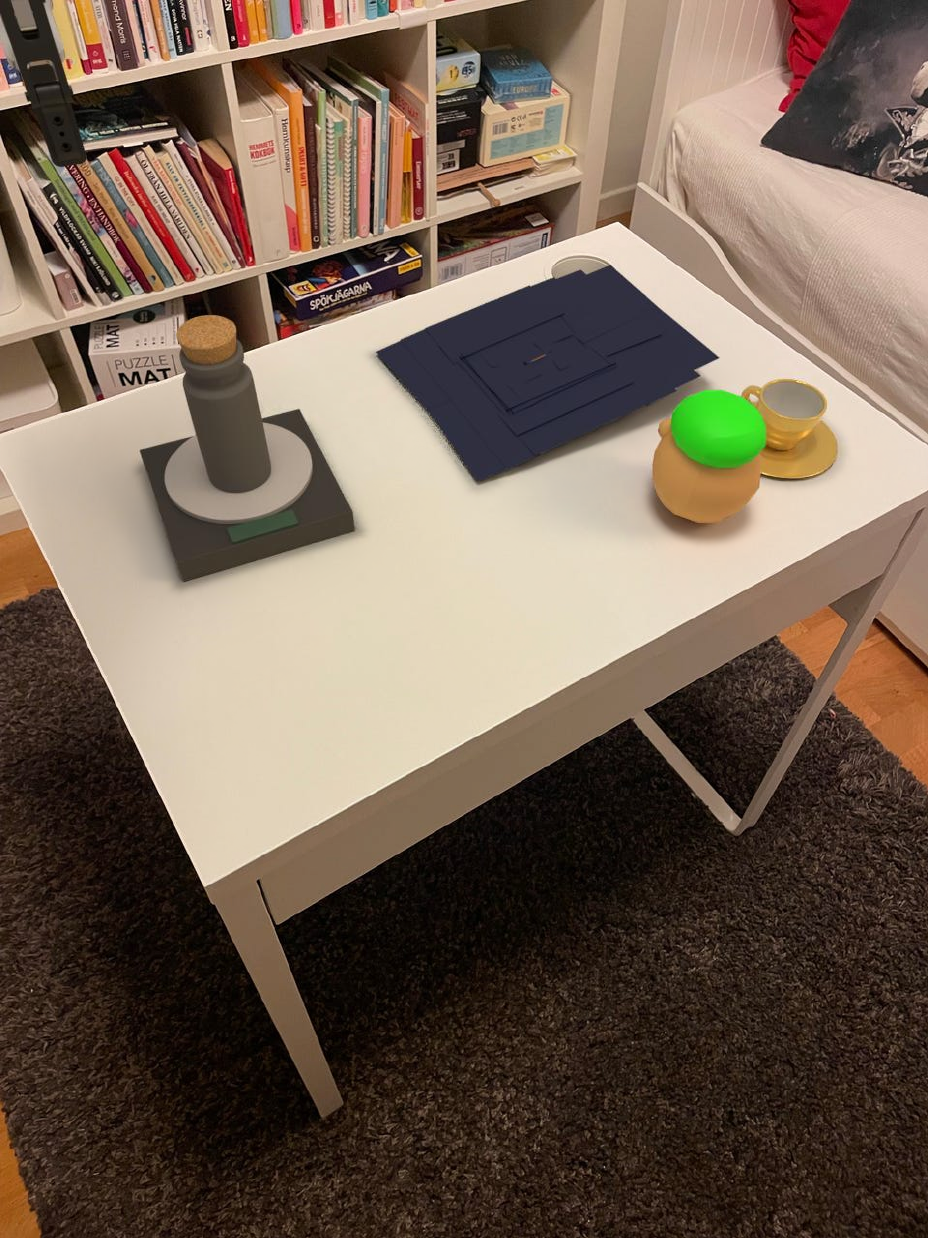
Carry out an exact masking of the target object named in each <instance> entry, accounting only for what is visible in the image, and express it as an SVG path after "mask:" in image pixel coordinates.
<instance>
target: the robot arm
mask: <svg viewBox="0 0 928 1238" xmlns="http://www.w3.org/2000/svg"><path fill="white" fill-rule="evenodd" d="M53 10H54V1H53V0H0V43H1V46H2V49H3V52H4V55H5V58H6V61H7V63H8V64H9V66H10V67H11V68H13V69H15V70H17V71H18V72H19V73H20V75H21V79H22V81H23V84H24V87H25V90H26V91H24V96H25V98H26V101H27V103H28V102H30V105H31V108H32V109H34V111H35V114H36V118H37V120H38V124H39V127H40V130H41V132H42V135H43V138H44V142H45V145H46V147H47V150H48V153H49V156H50V159H51V162H52V163H53V165H54V166H56V167H58V168H64V167H65V168H66V167H72V166H76V165H82V164H84V163H86V161H87V159H88V154H87V152H86V148H85V145H84V142H83V138H82V134H81V131H80V129H79V125H78V121H77V119H76V116H75V112H74V109H73V106H72V103H74V98H73V96H74V95H75V94H74V91H73V86H72V85H69V82H68V78H67V75H66V72H65V69H64V65H63V62H64V61H65V60H66V52H65V46H64V44H63V41H62V38H61V35H60V32H59V31H60V30H59V28H58V25H57V22H56V19H55V16H54V13H53Z"/></svg>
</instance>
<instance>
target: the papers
mask: <svg viewBox="0 0 928 1238" xmlns="http://www.w3.org/2000/svg"><path fill="white" fill-rule="evenodd" d="M375 353H376V354H377V355H378V357H379V358H380V359H381V360H382V361H383V363H385V365H387V367H388V368H389V369H390V370H391V371H392V373H393V374H394V375H395V376H396V377H397V378H398V380H400V382H401V383H402V384H403V385H404V386H405V387H406V388H407V389H408V391H409V392H410V393H411V394H412V395H413V396H414V397H415V398H416V400H417V401H418V402H419V403H420V404H421V405H422V407H424V408H425V410H426V411H427V412H428V414H429V416H431V418H432V419H433V421H434V422H435V424H436V425H437V426H438V428H439V429H440V431H441V432H442V433H443V436H445V438H446V439H447V441H448V442H449V443H450V445H451V447H452V448H453V449H454V451H455V452H456V453H457V455H458V456H459V458H460V459H461V461H462V462H463V464H464V465H465V466H466V467H467V469H468V470H469V472H470V474H471V475H472V476H473V478H474V479H475V480H476V482H480V481H483V480H485V479H487V478H490V477H492V476H495V475H497V474H500V473H502V472H504V471H509V470H511V469H512V468H515V467H517V466H519V465H521V464H524V463H526V462H528V461H530V460H531V459H534V458H537V457H538V456H540V455H541V454H543V453H545V452H548V451H549V450H551V449H554V448H556V447H559V446H560V445H562V444H565V443H566V442H569V441H572V440H574V439H576V438H578V437H580V436H582V435H584V434H587V433H588V432H591V431H593V430H595V429H597V428H599V427H603V425H606V424H609V423H610V422H612V421H615V420H617V419H619V418H621V417H623V416H626V415H628V414H631V413H632V412H634V411H636V410H638V409H641V408H643V407H647V406H649V405H651V404H654V403H655V402H657V401H659V400H662V399H663V398H665V397H667V396H669V395H672V394H673V393H676V392H677V391H678V390H677V388H679V387H681V386H683V385H686V384H688V383H690V382H692V381H694V380H696V379H697V378H701V377H702V375H701V374H700V373H698V372H697V371H696V370H698V369H700V368H702V367H704V366H706V365H708V364H710V363H712V362H714V361H717V360H718V359H720V356H718V355H717V354H716V353H715V352H714V351H712V350H711V349H710V348H708V347H707V346H706V345H705V344H704V343H702V341H700V340H699V339H698V338H697V337H695V336H694V335H693V334H692V333H690V331H688V330H687V329H686V328H685V327H683V326H682V325H681V324H680V323H679V322H677V321H676V320H675V319H674V318H672V317H671V316H670V315H669V314H668V313H666V312H665V311H664V310H663V309H661V307H659V306H658V305H657V304H656V303H655V302H653V301H652V300H651V299H650V298H649V297H648V296H647V295H646V294H644V293H643V292H642V291H641V290H640V289H639V288H638V287H637V286H635V285H634V284H633V283H632V282H631V281H630V280H629V279H628V278H627V277H625V275H623V274H622V273H621V272H620V271H619V270H617V268H615V267H614V266H613V265H612V264H608V265H606V266H603V267H601V268H598V269H596V270H594V271H591V272H589V273H586V272H584V271H583V270H582V269H578V270H575V271H572V272H570V273H568V274H564V275H561V276H560V277H557V278H556V277H555V276H553V277H550V278H548V279H545V280H543V281H540V282H537V283H535V284H532V285H530V284H529V285H527V286H524V287H521V288H519V289H517V290H514V291H512V292H510V293H507V294H505V295H503V296H500V297H498V298H495V299H492V300H490V301H487V302H485V303H482V304H479V305H477V306H475V307H473V308H471V309H468V310H465V311H463V312H461V313H458V314H456V315H453V316H451V317H449V318H446V319H444V320H441V321H438V322H436V323H434V324H431V325H429V326H427V327H424V329H421V330H419V331H417V332H415V333H412V334H410V335H407V336H405V337H403V338H401V339H400V340H399V341H397V342H395V343H392V344H389V345H387V346H385V347H384V348H380V349H379V350H377V351H375Z"/></svg>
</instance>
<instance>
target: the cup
mask: <svg viewBox="0 0 928 1238" xmlns="http://www.w3.org/2000/svg"><path fill="white" fill-rule="evenodd" d="M751 395H753V396H755V397H756V398H757V401H751ZM740 396H741V397H744V398H745V399H746V400H747V401H748V402H750V403H751V404H752V405H753V406H754V407H755V408H756V409H757V410H758V411H759V412H760V414H761V416H762V418H763V420H764V422H765V424H766V446H765V447H764V448H763V449H762V450H761V451H760V455H761V457H762V463H761V474H763V475H765V476H769V477H774V478H783V479H801V478H808V477H812V476H814V475H818V474H820V473H823V472H824V471H826V470H827V469H829V467H831V466H832V465H833V463H834V462H835V461H836V459H837V456H838V453H839V445H838V441H837V438H836V436H835V434H834V432H833V431H832V430H831V428H830V427H829V426H828V425H827V424H826V423H825V422H824V420H822V417H823V416H824V415H825V413H826V412H827V409H828V402H827V399H826V396H825V395H824V394H823V393H822V392H821V391H820V389H818V388H817V387H816V386H813V385H812V384H810V383H807V382H805V381H802V380H798V379H794V378H793V379H792V378H779V379H773V380H771V381H768V382H766V383H765V384H764V385H763V386H762V387H760V386H757V385H754V384H753V385H749V386H748V385H747V387H746V388H744V389H743V391H742V393H741V395H740Z"/></svg>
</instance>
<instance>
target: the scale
mask: <svg viewBox="0 0 928 1238" xmlns="http://www.w3.org/2000/svg"><path fill="white" fill-rule="evenodd" d="M262 422H263V427H264V432H265V437H266V442H267V447H268V452H269V457H270V462H271V473H270V476H269V478H268V479H267V480H266V482H264V483H263V484H262V485H261V486H259V487H258V488H255V489H253V490H251V491H247V492H242V493H229V492H225V491H222V490H220V489H217V488H216V487H215V486H214V485H213V484H212V483H211V482H210V480H209V477H208V474H207V471H206V468H205V464H204V461H203V457H202V453H201V450H200V446H199V443H198V439H197V436H196V434H195V435H191V436H188V437H187V436H186V437H183V438H179V439H176V440H172V441H168V442H164V443H161V444H157V445H153V446H149V447H145V448H141V449H139V453H140V456H141V459H142V463H143V465H144V468H145V471H146V475H147V478H148V480H149V484H150V486H151V489H152V493H153V496H154V499H155V501H156V506H157V508H158V511H159V515H160V517H161V520H162V523H163V526H164V529H165V532H166V535H167V538H168V542H169V544H170V548H171V550H172V553H173V556H174V559H175V562H176V565H177V568H178V571H179V574H180V576H181V579H182V581H183V582H188V581H191V580H194V579H197V578H201V577H204V576H208V575H210V574H215V573H218V572H220V571H224V570H228V569H230V568H234V567H238V566H242V565H245V564H248V563H251V562H255V561H259V560H261V559H265V558H267V557H271V556H275V555H277V554H280V553H284V552H288V551H291V550H295V549H297V548H301V547H304V546H307V545H311V544H315V543H317V542H322V541H325V540H328V539H331V538H334V537H337V536H342V535H345V534H348V533H351V532H354V531H355V521H354V512H353V509H352V507H351V506H350V504H349V502H348V499H347V497H346V496H345V494H344V492H343V490H342V488H341V486H340V484H339V482H338V480H337V478H336V477H335V474H334V473H333V471H332V469H331V467H330V465H329V463H328V461H327V459H326V457H325V455H324V453H323V452H322V449H321V448H320V446H319V444H318V442H317V439H316V438H315V436H314V434H313V432H312V430H311V428H310V425H308V422H307V421H306V419H305V416H304V414H303V413H302V411H301V409H300V408H297V409H292V410H289V411H285V412H281V413H277V414H273V415H270V416H266V417H262Z"/></svg>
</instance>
